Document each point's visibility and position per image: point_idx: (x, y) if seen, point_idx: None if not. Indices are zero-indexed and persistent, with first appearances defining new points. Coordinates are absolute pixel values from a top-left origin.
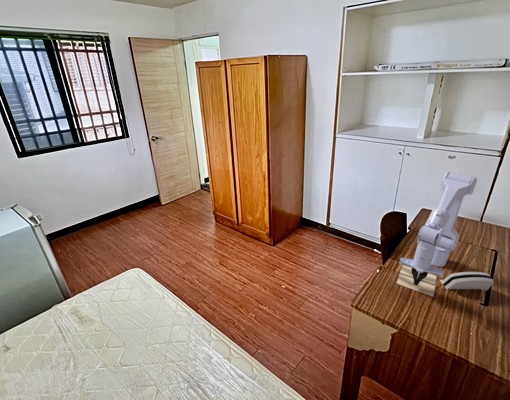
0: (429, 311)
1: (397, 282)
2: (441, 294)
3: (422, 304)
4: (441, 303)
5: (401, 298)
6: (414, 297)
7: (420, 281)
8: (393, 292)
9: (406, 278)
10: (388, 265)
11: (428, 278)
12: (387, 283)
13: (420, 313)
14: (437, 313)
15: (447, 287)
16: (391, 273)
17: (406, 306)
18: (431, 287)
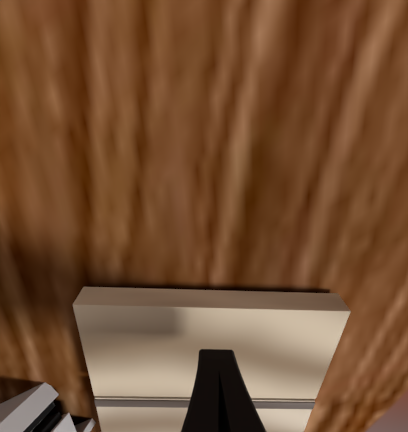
0: (67, 130)
1: (340, 320)
2: (51, 346)
3: (135, 190)
4: (24, 271)
5: (299, 172)
6: (201, 238)
7: (182, 393)
8: (360, 212)
9: (271, 381)
10: (362, 425)
11: (142, 430)
12: (394, 286)
13: (128, 50)
14: (7, 142)
15: (19, 415)
16: (352, 379)
17: (257, 82)
18: (109, 375)
